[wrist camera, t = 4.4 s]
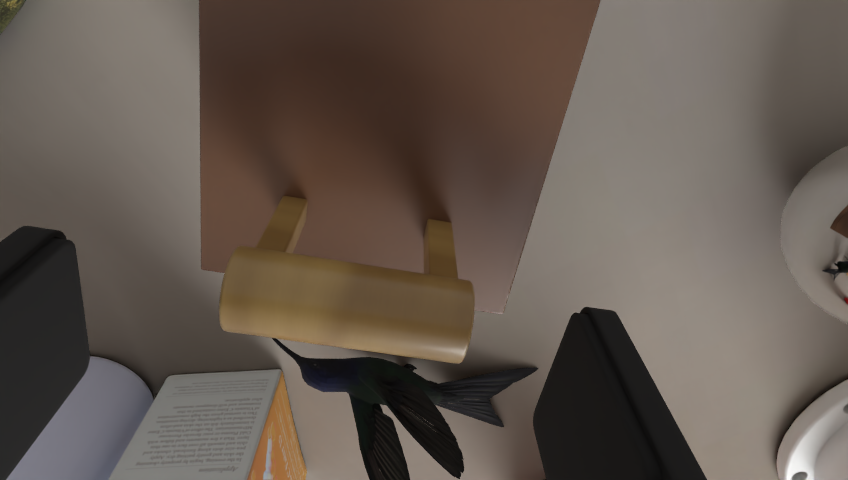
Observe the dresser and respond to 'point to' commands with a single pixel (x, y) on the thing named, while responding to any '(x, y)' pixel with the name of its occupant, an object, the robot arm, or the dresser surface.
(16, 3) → the decorative stone
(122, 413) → the spray bottle
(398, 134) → the lid
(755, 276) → the dresser surface
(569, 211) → the dresser surface
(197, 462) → the small box
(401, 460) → the bird model
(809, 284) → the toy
